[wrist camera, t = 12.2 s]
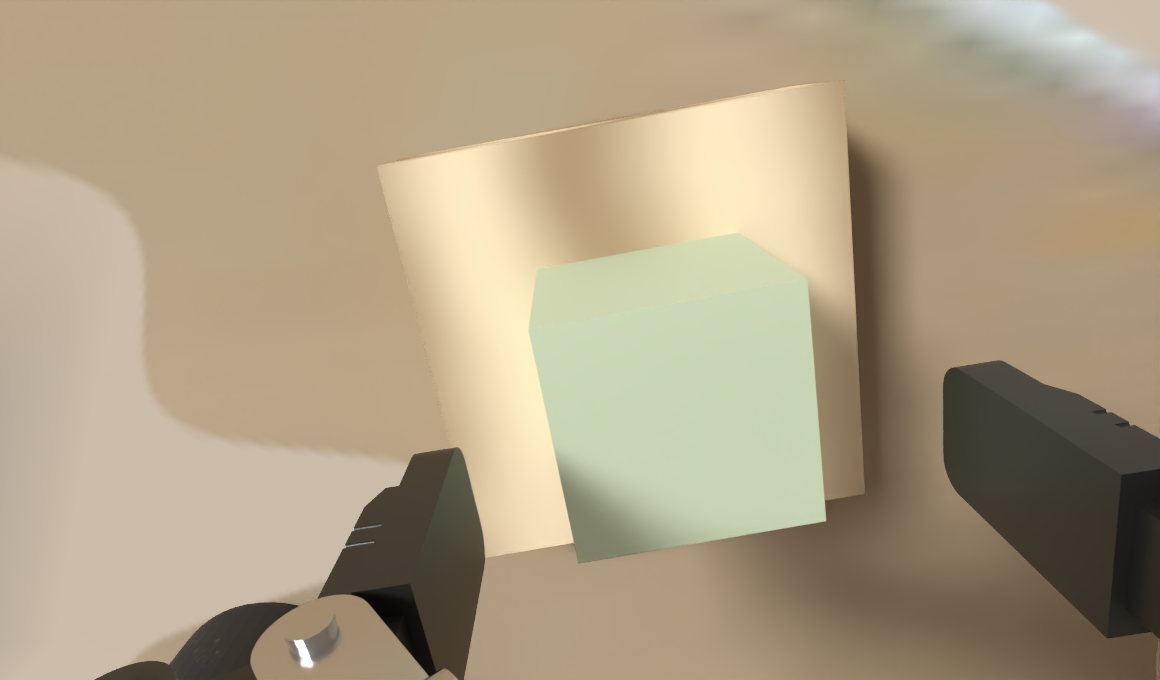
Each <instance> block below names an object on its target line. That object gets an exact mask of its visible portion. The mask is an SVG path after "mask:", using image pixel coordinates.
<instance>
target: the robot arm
mask: <svg viewBox="0 0 1160 680" xmlns="http://www.w3.org/2000/svg"><path fill="white" fill-rule="evenodd" d="M943 454H944V464H945V468H946V471H947V475H948V477H949V480H950V482H951V484H952V485H953V487H954V489H955V490H956V492H957V493H958V494H959V495H960V496H961V497H962V498H963V499H964V500H965V501H966V502H967V503H968V504H969V505H970V506H971V507H972V508H973V509H974V510H975V511H976V512H978V513H979V514H980V515H981V516H982V517H983V518H984V519H985V520H986V521H987V522H988V523H989V524H990V525H991V526H992V527H993V528H994V529H995V530H996V531H997V532H998V533H999V534H1000V535H1001V536H1002V537H1003V538H1004V539H1005V540H1006V541H1007V542H1008V543H1009V544H1010V545H1011V546H1013V547H1014V548H1015V549H1016V550H1017V551H1018V552H1019V553H1020V554H1021V555H1022V556H1023V557H1024V558H1025V559H1026V560H1027V561H1028V562H1029V563H1030V564H1031V565H1032V566H1033V567H1034V568H1035V569H1036V570H1037V571H1038V572H1039V573H1040V574H1041V575H1042V576H1043V577H1044V578H1045V579H1046V580H1048V581H1049V582H1050V583H1051V584H1052V585H1053V586H1054V587H1055V588H1056V589H1057V590H1058V591H1059V592H1060V593H1061V594H1062V595H1063V596H1064V597H1065V598H1066V599H1067V600H1068V601H1069V602H1070V603H1071V604H1072V605H1073V606H1074V607H1075V608H1076V609H1077V610H1078V611H1079V612H1080V613H1081V614H1083V615H1084V616H1085V617H1086V618H1087V619H1088V620H1089V621H1090V622H1091V623H1092V624H1093V625H1094V626H1095V627H1096V628H1097V629H1098V630H1099V631H1100V632H1101V633H1102V634H1103V635H1104V636H1105V637H1106V638H1113V637H1119V636H1126V635H1133V634H1140V633H1147V632H1153V633H1154V634H1155V635H1156V636H1157V637H1158V647H1157V655H1156V680H1160V439H1159V438H1157V437H1155V436H1154V435H1152V434H1150V433H1148V432H1146V431H1144V430H1143V429H1141V428H1139V427H1137V426H1135V425H1133V426H1130V425H1129V422H1128V421H1126V420H1124V419H1123V418H1121V417H1119V416H1117V415H1115V414H1113V413H1112V412H1110V413H1107V412H1106V409H1104V408H1103V407H1101V406H1099V405H1097V404H1095V403H1093V402H1092V401H1090V400H1088V399H1086V398H1084V397H1083V396H1081V395H1079V394H1076V393H1072V392H1069V391H1065V390H1062V389H1059V388H1055V387H1052V386H1048V385H1045V384H1043V383H1041V382H1039V381H1037V380H1036V379H1034V378H1032V377H1030V376H1028V375H1027V374H1025V373H1023V372H1021V371H1020V370H1018V369H1016V368H1014V367H1013V366H1011V365H1009V364H1007V363H1006V362H1003V361H999V360H998V361H991V362H985V363H979V364H973V365H967V366H961V367H954V368H951V369H949V370H948V371H947V372H946V374H945V377H944V382H943ZM484 564H485V547H484V538H483V531H482V527H481V522H480V518H479V514H478V510H477V506H476V502H475V498H474V494H473V490H472V486H471V482H470V478H469V474H468V470H467V466H466V462H465V459H464V456H463V453H462V451H461V450H460V448H458V447H456V448H450V449H443V450H437V451H431V452H425V453H419V454H414V455H413V457H412V458H411V461H410V463H409V465H408V467H407V470H406V472H405V474H404V476H403V479H402V481H401V483H400V485H399V486H396V487H389V488H385V489H384V490H383V491H382V492H381V493H380V494H379V495H377V497H375V498H374V499H373V500H372V501H371V502H370V503H369V504H368V505H366V506H365V507H364V509H363V511H362V513H361V515H360V517H359V519H358V521H357V523H356V525H355V527H354V531H352V532H351V534H350V536H349V538H348V540H347V542H346V548H345V549H343V550H342V552H341V554H340V556H339V558H338V560H337V562H336V564H335V566H334V568H333V569H332V572H331V573H330V575H329V577H328V579H327V581H326V583H325V585H324V587H323V589H322V591H321V593H320V595H319V597H318V599H315V600H313V601H310V602H307V603H305V604H303V605H301V606H299V607H297V608H295V609H293V610H291V611H290V612H288V613H286V614H285V615H283V616H282V617H281V618H279V619H278V620H277V621H275V622H274V623H273V624H272V625H271V626H270V627H269V628H268V629H267V630H266V631H265V632H264V633H263V634H262V635H261V637H260V638H259V639H258V641H257V642H256V644H255V646H254V648H253V651H252V654H251V662H250V663H251V664H248V665H246V666H244V667H241V668H239V669H236V670H234V671H231V672H228V673H226V674H223V675H220V676H218V677H215V678H212V679H210V680H464V675H465V670H466V664H467V659H468V653H469V648H470V642H471V637H472V631H473V626H474V620H475V615H476V609H477V604H478V598H479V593H480V587H481V582H482V576H483V571H484ZM95 680H178V678H177V676H176V674H175V672H174V669H173V668H172V667H171V666H170V665H168V664H166V663H164V662H159V661H146V662H139V663H135V664H131V665H127V666H124V667H122V668H119V669H116V670H114V671H112V672H109V673H107V674H105V675H103V676H101V677H99V678H97V679H95Z"/></svg>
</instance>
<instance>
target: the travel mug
mask: <svg viewBox="0 0 1160 680" xmlns="http://www.w3.org/2000/svg"><path fill="white" fill-rule="evenodd" d="M297 607H299V606H294V605H289V604H282V603H255V604H247V605H243V606H239V607H235V608H232V609H230V610H227V611H224V612H222V613H221V614H219V615H217V616H215V617H213V618H212V619H210V620H209V621H208V622H206V623H205V624H204V625H202V626H201V627H200V628H199V629H198V630H197V631H196V632H195V633H194V634H193V635H192V637H191V638H190V639H189V640H188V641H187V642H186V644H185V645H184V646H183V648H182V649H181V650H180V651H179V653H178V654H177V655H176V657H175V658H174V659H173V660H172V662H171V663H170V664H169V665H170V666H171V667H172V668H173V669H174V672H175V674H176V676H177V678H178V680H210V679H212V678H215V677H218V676H220V675H223V674H226V673H228V672H231V671H234V670H236V669H239V668H241V667H244V666H246V665H248V664H251V663H250V662H251V654H252V651H253V648H254V646H255V644H256V642H257V641H258V639H259V638H260V637H261V635H262V634H263V633H264V632H265V631H266V630H267V629H268V628H269V627H270V626H271V625H272V624H273V623H274V622H275V621H277V620H278V619H279V618H281V617H282V616H283V615H285V614H286V613H288V612H290V611H291V610H293V609H295V608H297Z"/></svg>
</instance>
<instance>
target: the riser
mask: <svg viewBox="0 0 1160 680" xmlns="http://www.w3.org/2000/svg"><path fill="white" fill-rule="evenodd" d="M377 170H378V174H379V177H380V181H381V185H382V189H383V193H384V196H385V200H386V204H387V208H388V212H389V216H390V219H391V223H392V227H393V231H394V235H395V238H396V242H397V246H398V250H399V254H400V257H401V261H402V265H403V269H404V273H405V277H406V280H407V284H408V288H409V292H410V296H411V299H412V303H413V307H414V311H415V315H416V319H417V322H418V326H419V330H420V334H421V338H422V341H423V345H424V349H425V353H426V357H427V361H428V364H429V368H430V372H431V376H432V380H433V383H434V387H435V391H436V395H437V399H438V403H439V406H440V410H441V414H442V418H443V422H444V425H445V429H446V433H447V437H448V441H449V445H450V448H456V447H458V448H460V450H461V451H462V453H463V456H464V459H465V462H466V466H467V470H468V474H469V478H470V482H471V486H472V490H473V494H474V498H475V502H476V506H477V510H478V514H479V518H480V522H481V527H482V531H483V538H484V547H485V558H486V557H492V556H498V555H504V554H510V553H516V552H522V551H528V550H534V549H540V548H546V547H552V546H558V545H564V544H570V543H574V541H573V536H572V531H571V527H570V522H569V517H568V513H567V508H566V503H565V499H564V494H563V489H562V485H561V480H560V475H559V471H558V466H557V461H556V457H555V452H554V447H553V443H552V438H551V433H550V429H549V424H548V419H547V415H546V410H545V405H544V401H543V396H542V391H541V387H540V382H539V377H538V373H537V368H536V363H535V359H534V354H533V349H532V345H531V340H530V335H529V331H528V328H529V321H530V314H531V307H532V300H533V293H534V286H535V279H536V272H537V269H541V268H546V267H552V266H557V265H563V264H568V263H573V262H579V261H584V260H590V259H595V258H601V257H606V256H611V255H617V254H622V253H628V252H633V251H639V250H644V249H650V248H655V247H660V246H666V245H671V244H677V243H682V242H688V241H693V240H699V239H704V238H709V237H715V236H720V235H726V234H731V233H737V232H738V233H739V234H741V235H742V236H744V237H745V238H747V239H748V240H750V241H751V242H753V243H754V244H756V245H757V246H759V247H760V248H762V249H763V250H765V251H766V252H768V253H769V254H771V255H772V256H774V257H775V258H777V259H778V260H780V261H781V262H783V263H784V264H786V265H787V266H789V267H790V268H792V269H793V270H795V271H796V272H798V273H799V274H801V275H802V276H804V277H805V278H807V279H808V291H809V304H810V317H811V330H812V343H813V356H814V369H815V382H816V395H817V408H818V421H819V434H820V447H821V460H822V473H823V486H824V499H825V501H826V500H832V499H838V498H844V497H850V496H856V495H862V494H865V485H864V465H863V445H862V425H861V405H860V385H859V365H858V345H857V325H856V305H855V285H854V265H853V245H852V225H851V205H850V184H849V164H848V144H847V124H846V104H845V84H844V80H843V81H834V82H825V83H817V84H808V85H799V86H790V87H784V88H779V89H774V90H768V91H763V92H757V93H752V94H746V95H741V96H736V97H730V98H725V99H719V100H714V101H709V102H703V103H698V104H692V105H687V106H681V107H676V108H671V109H665V110H660V111H654V112H649V113H643V114H638V115H633V116H627V117H622V118H616V119H611V120H605V121H600V122H595V123H589V124H584V125H578V126H573V127H567V128H562V129H557V130H551V131H546V132H540V133H535V134H530V135H524V136H519V137H513V138H508V139H502V140H497V141H492V142H486V143H481V144H475V145H470V146H464V147H459V148H454V149H448V150H443V151H437V152H432V153H426V154H421V155H416V156H411V157H407V158H404V159H400V160H397V161H394V162H390V163H387V164H383V165H380V166H377Z"/></svg>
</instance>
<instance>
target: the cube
mask: <svg viewBox="0 0 1160 680" xmlns="http://www.w3.org/2000/svg"><path fill="white" fill-rule="evenodd" d="M528 331H529V335H530V340H531V345H532V349H533V354H534V359H535V363H536V368H537V373H538V377H539V382H540V387H541V391H542V396H543V401H544V405H545V410H546V415H547V419H548V424H549V429H550V433H551V438H552V443H553V447H554V452H555V457H556V461H557V466H558V471H559V475H560V480H561V485H562V489H563V494H564V499H565V503H566V508H567V513H568V517H569V522H570V527H571V531H572V536H573V541H574V545H575V550H576V555H577V559H578V564H579V563H585V562H590V561H596V560H602V559H608V558H614V557H620V556H625V555H631V554H637V553H643V552H649V551H655V550H661V549H666V548H672V547H678V546H684V545H690V544H696V543H702V542H707V541H713V540H719V539H725V538H731V537H737V536H742V535H748V534H754V533H760V532H766V531H772V530H778V529H783V528H789V527H795V526H801V525H807V524H813V523H818V522H824V521H826V512H825V499H824V486H823V473H822V460H821V447H820V434H819V421H818V408H817V395H816V382H815V369H814V356H813V343H812V330H811V317H810V304H809V291H808V279H807V278H805V277H804V276H802V275H801V274H799V273H798V272H796V271H795V270H793V269H792V268H790V267H789V266H787V265H786V264H784V263H783V262H781V261H780V260H778V259H777V258H775V257H774V256H772V255H771V254H769V253H768V252H766V251H765V250H763V249H762V248H760V247H759V246H757V245H756V244H754V243H753V242H751V241H750V240H748V239H747V238H745V237H744V236H742V235H741V234H739V233H738V232H737V233H731V234H726V235H720V236H715V237H709V238H704V239H699V240H693V241H688V242H682V243H677V244H671V245H666V246H660V247H655V248H650V249H644V250H639V251H633V252H628V253H622V254H617V255H611V256H606V257H601V258H595V259H590V260H584V261H579V262H573V263H568V264H563V265H557V266H552V267H546V268H541V269H537V272H536V279H535V286H534V293H533V300H532V307H531V314H530V321H529V328H528Z"/></svg>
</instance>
